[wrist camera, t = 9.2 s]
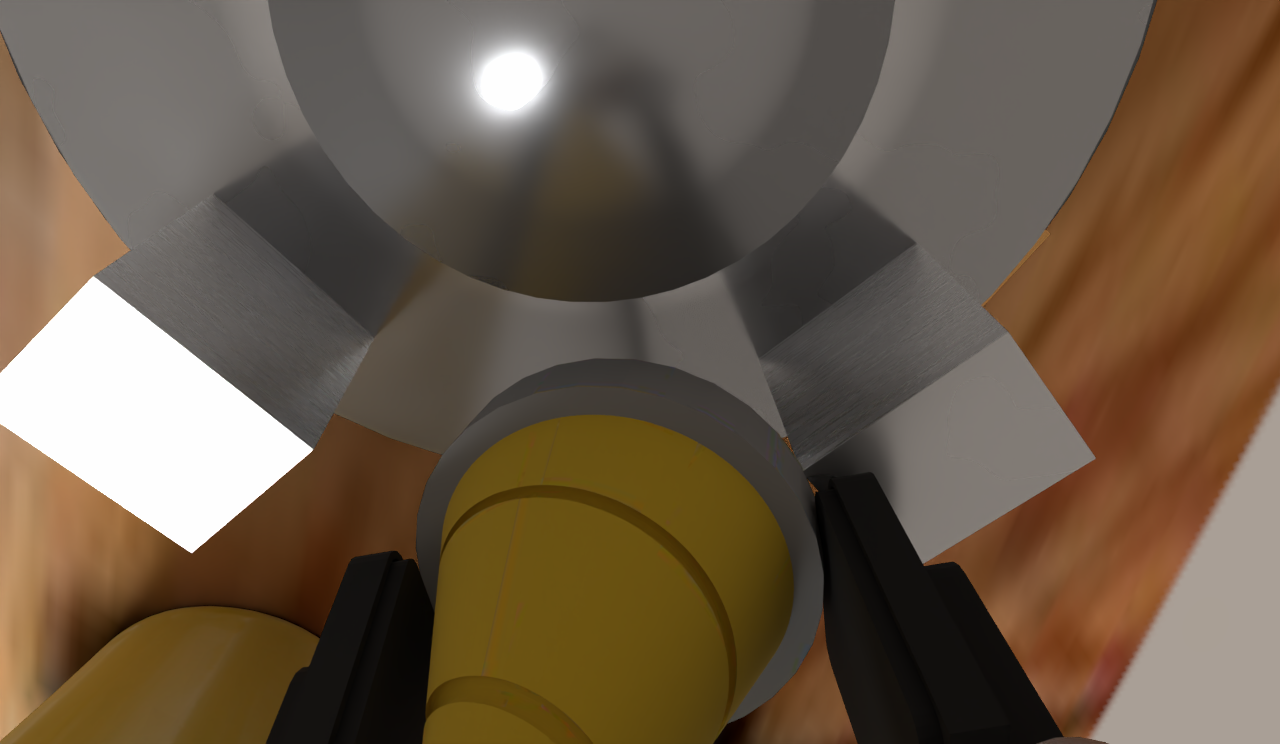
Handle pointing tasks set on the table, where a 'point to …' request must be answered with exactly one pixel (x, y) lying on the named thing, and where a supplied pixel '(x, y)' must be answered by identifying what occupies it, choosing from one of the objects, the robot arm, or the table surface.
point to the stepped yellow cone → (614, 562)
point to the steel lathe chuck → (558, 227)
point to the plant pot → (177, 682)
